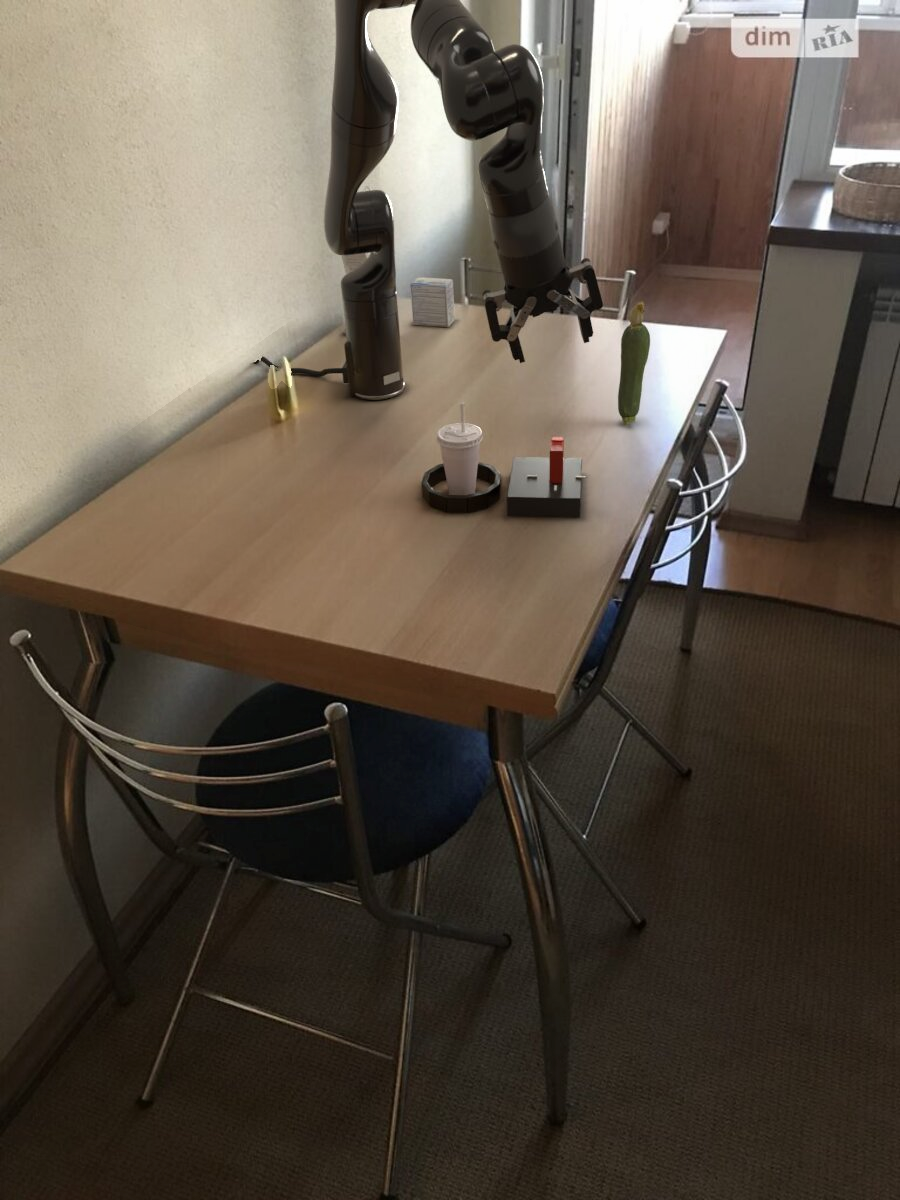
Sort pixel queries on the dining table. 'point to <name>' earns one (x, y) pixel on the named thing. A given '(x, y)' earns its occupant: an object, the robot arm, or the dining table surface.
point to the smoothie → (460, 454)
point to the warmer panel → (544, 488)
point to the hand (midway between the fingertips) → (553, 349)
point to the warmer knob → (556, 460)
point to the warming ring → (461, 501)
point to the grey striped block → (432, 302)
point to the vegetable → (633, 364)
